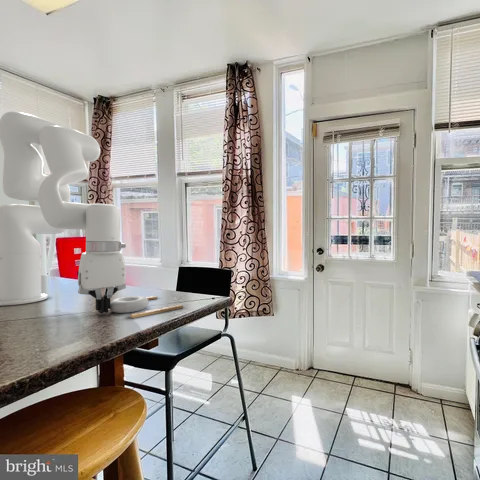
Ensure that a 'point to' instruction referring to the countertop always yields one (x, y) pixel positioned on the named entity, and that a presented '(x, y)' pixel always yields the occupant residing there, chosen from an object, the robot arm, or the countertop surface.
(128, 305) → the donut
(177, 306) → the strips
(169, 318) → the countertop surface
